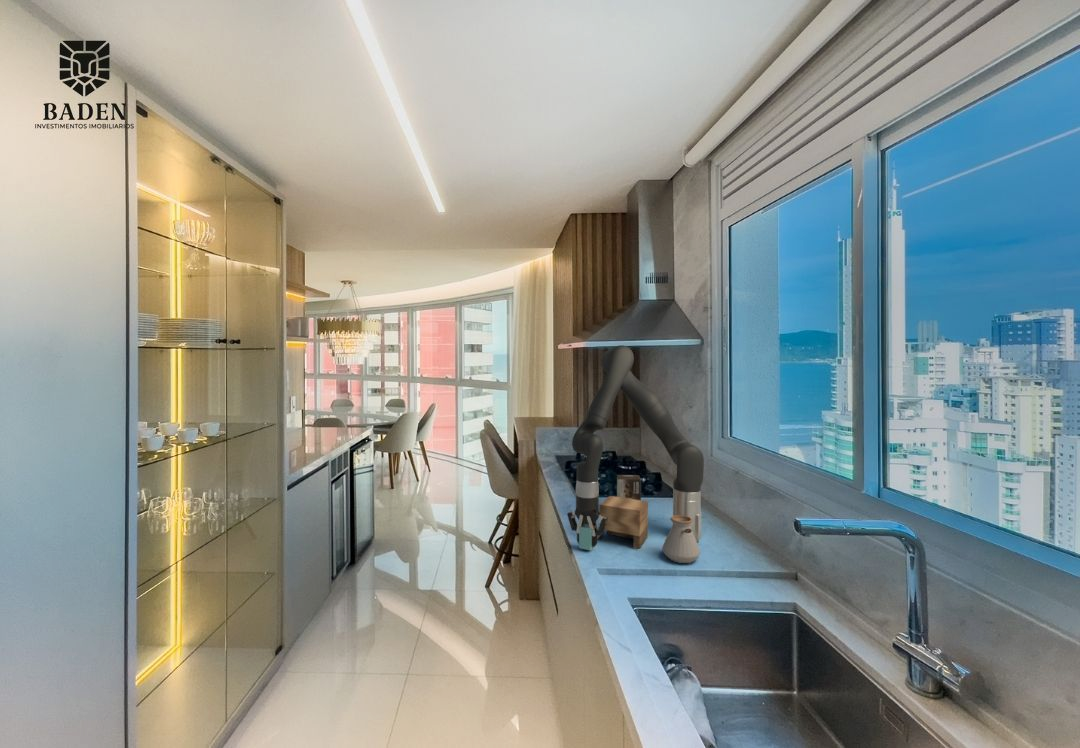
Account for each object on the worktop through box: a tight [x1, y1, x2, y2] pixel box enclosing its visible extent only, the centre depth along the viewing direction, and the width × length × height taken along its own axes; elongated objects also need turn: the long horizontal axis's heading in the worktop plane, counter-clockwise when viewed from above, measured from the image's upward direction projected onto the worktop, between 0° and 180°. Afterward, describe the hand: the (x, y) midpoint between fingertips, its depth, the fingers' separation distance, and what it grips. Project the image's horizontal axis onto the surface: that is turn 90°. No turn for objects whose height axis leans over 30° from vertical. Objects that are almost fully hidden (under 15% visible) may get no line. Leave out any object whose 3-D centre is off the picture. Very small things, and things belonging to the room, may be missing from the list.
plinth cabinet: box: [598, 495, 649, 550], centre depth 158 cm, size 14×11×13 cm
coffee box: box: [616, 474, 642, 501], centre depth 181 cm, size 9×6×16 cm
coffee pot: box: [662, 515, 701, 564], centre depth 138 cm, size 21×12×15 cm, turn 172°
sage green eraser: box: [578, 524, 605, 551], centre depth 155 cm, size 4×16×7 cm, turn 153°
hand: (587, 544), depth 150 cm, fingers closed on sage green eraser, 4 cm apart
